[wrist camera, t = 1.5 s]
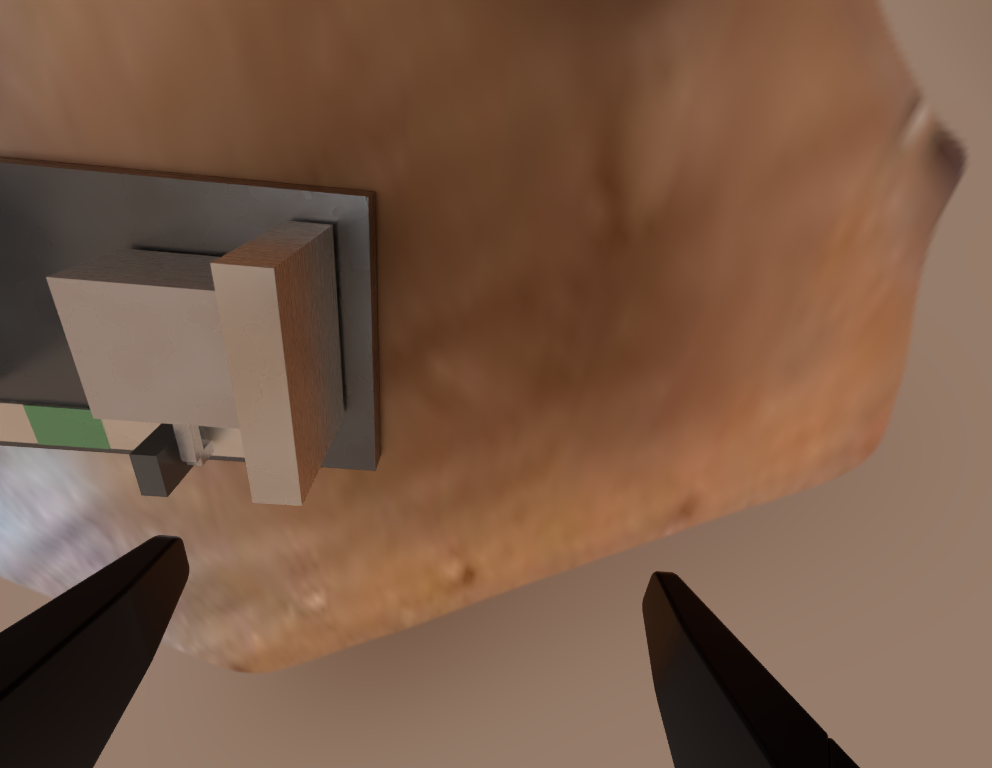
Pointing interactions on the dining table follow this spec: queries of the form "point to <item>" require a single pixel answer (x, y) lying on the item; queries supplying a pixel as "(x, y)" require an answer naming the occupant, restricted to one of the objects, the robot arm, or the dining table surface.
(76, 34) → the dining table surface
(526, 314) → the dining table surface
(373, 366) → the gauge bench
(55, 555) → the dining table surface
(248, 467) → the block with end plate
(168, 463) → the charcoal cuboid
